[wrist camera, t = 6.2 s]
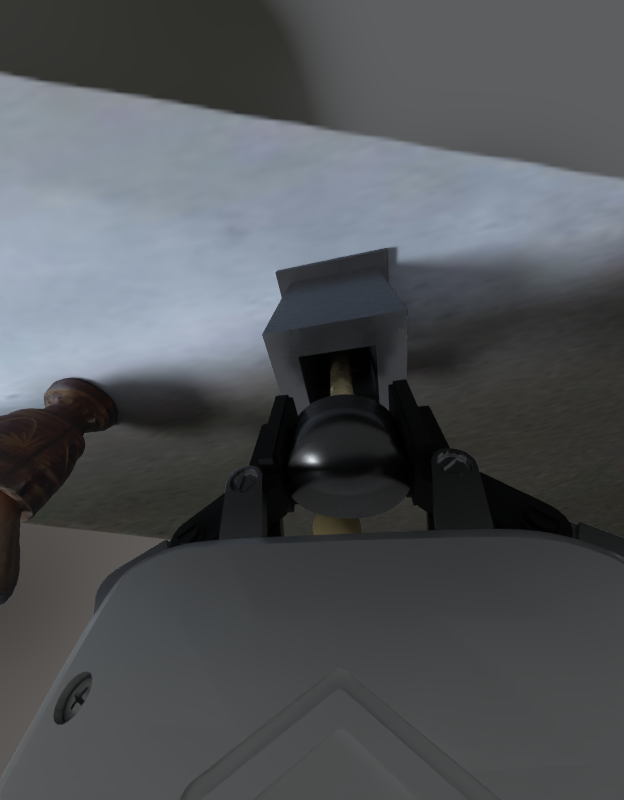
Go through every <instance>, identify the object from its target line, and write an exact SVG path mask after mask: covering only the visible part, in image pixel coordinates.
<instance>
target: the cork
mask: <svg viewBox="0 0 624 800" xmlns="http://www.w3.org/2000/svg"><path fill="white" fill-rule="evenodd" d="M352 533H361V524H360V521H359V518H356V519H340V518H332V517H327V516H323V515H319V514H316V516H315V519H314V522H313V534H314V535H328V534H352Z"/></svg>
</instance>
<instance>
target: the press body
mask: <svg viewBox="0 0 624 800" xmlns="http://www.w3.org/2000/svg"><path fill="white" fill-rule="evenodd" d="M276 276H277V280H278V284H279V288H280V292H281V296H282V299H281V301H280V303H279V304H278V306H277V308H276V310H275V312H274V314H273V315H272V317H271V319H270V321H269V323H268V325H267V326H266V328H265V330H264V332H263V334H262V336H263V339H264V342H265V345H266V348H267V351H268V355H269V358H270V361H271V364H272V367H273V370H274V374H275V377H276V380H277V383H278V386H279V389H280V393H281V395H288V396H289V397H293V399H294V403H295V406H296V410H297V413H298V416H299V414H300V413H301V412H302V411H303V410H304V409H305V408H306V407H307V406H309V405H310V404H312V403H313V402H315V401H317V400H320V399H322V398H325V397H328V396H330V352H334V351H340V350H347V349H348V352H349V361H350V369H351V377H352V386H353V394H354V395H359V396H363V397H367V398H370V399H372V400H375V401H376V402H378V403H380V404H381V405H383V406H384V407H385V408H386V409H387V410H388V411H389V395H388V385H389V384H392V383H393V381H396V380H403V379H406V381H407V330H408V309H407V308H406V307H405V305H404V304H403V303H402V301H401V300H400V299H399V297H398V296H397V295H396V293H395V292H394V291H393V289H392V288H391V287H390V285H389V284H388V250H387V249H386V248H384V249H379V250H374V251H369V252H365V253H360V254H355V255H350V256H345V257H341V258H336V259H331V260H326V261H321V262H317V263H312V264H307V265H302V266H297V267H293V268H288V269H283V270H278V271H276Z"/></svg>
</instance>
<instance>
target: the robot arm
mask: <svg viewBox="0 0 624 800" xmlns="http://www.w3.org/2000/svg"><path fill="white" fill-rule="evenodd" d="M388 395H389V412H390V413H391V414H392V416H393V417H394V419H395V421H396V425H397V428H398V431H399V435H400V438H401V441H402V445H403V448H404V451H405V455H406V458H407V461H408V464H409V468H410V471H411V474H412V483H411V487H410V490H409V492H408V493H407V495H406V496H407V497H412V501H413V504H414V505H418V506H419V507H420V508H422V509H423V510H425V511H426V515H427V531H403V532H376V533H352V534H328V535H304V536H284V527H283V517H284V516H285V515H286V514H287V512H294V506H295V504H298V503H297V502H296V501H295V500H294V499H293V498H292V497H291V496H290V494H289V493H288V491H287V488H286V485H285V472H286V466H287V461H288V455H289V449H290V443H291V438H292V432H293V426H294V423H295V421H296V419H297V417H298V413H297V410H296V406H295V403H294V399H293V397H289V396H288V395H280V396H276V398H275V401H274V404H273V408H272V411H271V415H270V418H269V422H268V424H263V425H262V427H261V430H260V433H259V436H258V439H257V443H256V446H255V449H254V452H253V455H252V458H251V461H250V465H249V466H244V467H241V468H239V469H237V470H236V471H234V472H233V473H232V474H231V475H230V477H229V478H228V480H227V483H226V489H225V493H224V494H223V495H221V496H220V497H219V498H217V499H216V500H215V501H213V502H212V503H211V504H209V505H208V506H207V507H205V508H204V509H203V510H201V511H200V512H199V513H197V514H196V515H195V516H193V517H192V518H191V519H189V520H188V521H187V522H185V523H184V524H183V525H182V526H181V527H179V528H178V530H177V531H176V532H175V534H174V535H173V537H172V539H171V540H170V541H167V540H164V541H163V542H161V543H159V544H158V545H156V546H154V547H153V548H151V549H149V550H148V551H146V552H144V553H143V554H141V555H139V556H138V557H136V558H134V559H133V560H131V561H129V562H128V563H126V564H124V565H123V566H121V567H119V568H118V569H116V570H115V571H113V572H112V573H111V574H109V575H108V576H107V578H106V579H105V580H104V581H103V582H102V584H101V586H100V587H99V589H98V590H97V594H96V597H95V607H94V616H93V617H92V619H91V621H90V622H89V624H88V625H87V627H86V628H85V631H84V632H83V634H82V635H81V637H80V639H79V641H78V642H77V644H76V646H75V647H74V649H73V651H72V652H71V654H70V656H69V657H68V659H67V661H66V663H65V664H64V666H63V668H62V669H61V671H60V673H59V675H58V676H57V678H56V680H55V682H54V684H53V685H52V687H51V689H50V691H49V692H48V694H47V696H46V698H45V699H44V701H43V703H42V705H41V707H40V708H39V710H38V712H37V714H36V716H35V718H34V719H33V721H32V723H31V724H30V726H29V728H28V730H27V732H26V734H25V735H24V737H23V739H22V741H21V743H20V744H19V746H18V748H17V750H16V751H15V753H14V755H13V757H12V759H11V760H10V762H9V764H8V766H7V768H6V769H5V771H4V773H3V775H2V776H1V778H0V800H624V538H623V537H620V536H617V535H615V534H612V533H609V532H607V531H604V530H601V529H599V528H596V527H593V526H591V525H588V524H585V523H583V522H579V523H578V524H575V523H572V522H570V521H568V520H567V518H566V517H565V516H564V515H563V514H562V513H561V512H559V511H558V510H557V509H555V508H554V507H552V506H550V505H549V504H547V503H544V502H542V501H540V500H538V499H536V498H534V497H532V496H530V495H528V494H526V493H523V492H521V491H519V490H517V489H515V488H513V487H511V486H509V485H507V484H504V483H502V482H500V481H498V480H496V479H494V478H492V477H490V476H488V475H485V474H483V473H481V472H480V471H479V467H478V464H477V462H476V460H475V459H474V458H473V457H472V456H471V455H470V454H468V453H467V452H465V451H462V450H460V449H455V448H450V447H449V445H448V443H447V441H446V439H445V437H444V435H443V433H442V431H441V429H440V427H439V425H438V423H437V421H436V419H435V417H434V415H433V413H432V411H431V409H430V407H429V406H420V407H418V406H417V404H416V401H415V399H414V397H413V394H412V392H411V390H410V388H409V385H408V383H407V381H406V379H403V380H396V381H393V383H392V384H389V385H388Z"/></svg>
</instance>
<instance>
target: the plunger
mask: <svg viewBox="0 0 624 800" xmlns="http://www.w3.org/2000/svg"><path fill="white" fill-rule="evenodd" d="M411 483H412V474H411V471H410V468H409V464H408V461H407V458H406V455H405V451H404V448H403V445H402V441H401V438H400V435H399V431H398V428H397V425H396V421H395V419H394V417H393V416H392V414H391V413H390V412H389V411H388V410H387V409H386V408H385V407H384V406H383V405H381V404H380V403H378V402H376V401H375V400H372V399H370V398H367V397H363V396H359V395H354V394H353V386H352V377H351V369H350V361H349V352H348V349H347V350H340V351H334V352H330V396H328V397H325V398H322V399H320V400H317V401H315V402H313V403H312V404H310V405H309V406H307V407H306V408H305V409H304V410H303V411H302V412H301V413H300V414H299V416H298V417H297V419H296V421H295V423H294V426H293V432H292V438H291V443H290V449H289V455H288V461H287V466H286V472H285V485H286V488H287V491H288V493H289V494H290V496H291V497H292V498H293V499H294V500H295V501H296V502H297V503H298V504H299V505H301V506H302V507H304V508H306V509H307V510H309V511H311V512H314V513H317V514H319V515H323V516H327V517H332V518H340V519H356V518H364V517H370V516H374V515H377V514H380V513H383V512H385V511H387V510H389V509H391V508H393V507H394V506H396V505H397V504H398V503H400V502H401V501H402V500H403V499H404V498H405V496H406V495H407V493H408V492H409V490H410V487H411Z"/></svg>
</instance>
